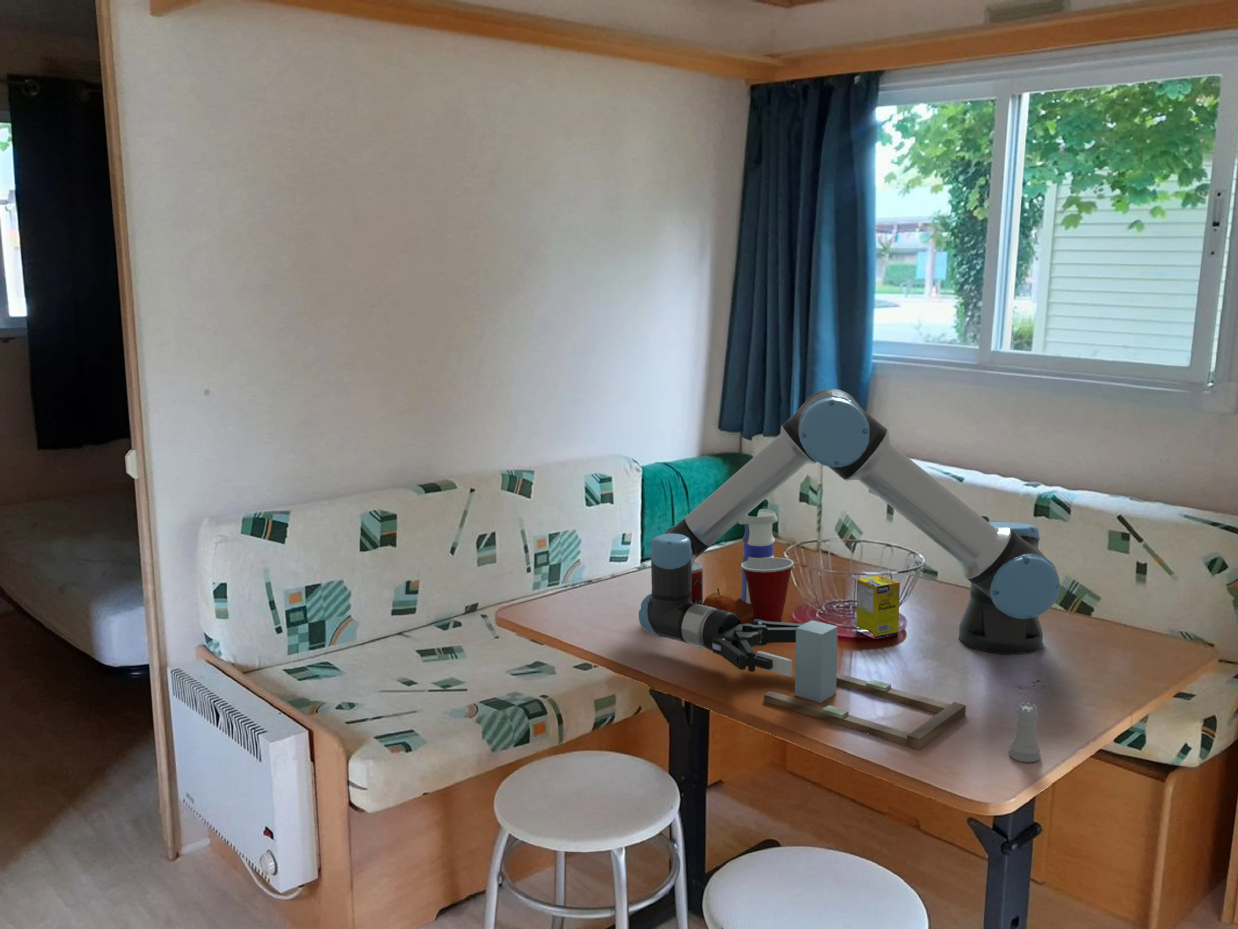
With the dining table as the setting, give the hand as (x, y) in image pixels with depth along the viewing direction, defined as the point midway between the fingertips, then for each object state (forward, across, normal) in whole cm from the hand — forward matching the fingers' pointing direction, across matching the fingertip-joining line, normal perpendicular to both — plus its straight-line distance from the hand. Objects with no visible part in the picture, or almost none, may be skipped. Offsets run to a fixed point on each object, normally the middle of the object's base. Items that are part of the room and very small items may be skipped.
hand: (813, 656), depth 180 cm
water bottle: (-37, -36, -7) cm, 53 cm away
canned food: (-42, -17, -7) cm, 46 cm away
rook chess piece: (+36, 0, -7) cm, 37 cm away
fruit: (-33, -17, -7) cm, 38 cm away
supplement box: (-6, -34, -7) cm, 35 cm away
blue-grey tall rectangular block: (0, 0, -7) cm, 7 cm away
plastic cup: (-28, -28, -7) cm, 40 cm away
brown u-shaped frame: (+8, 0, -7) cm, 11 cm away
